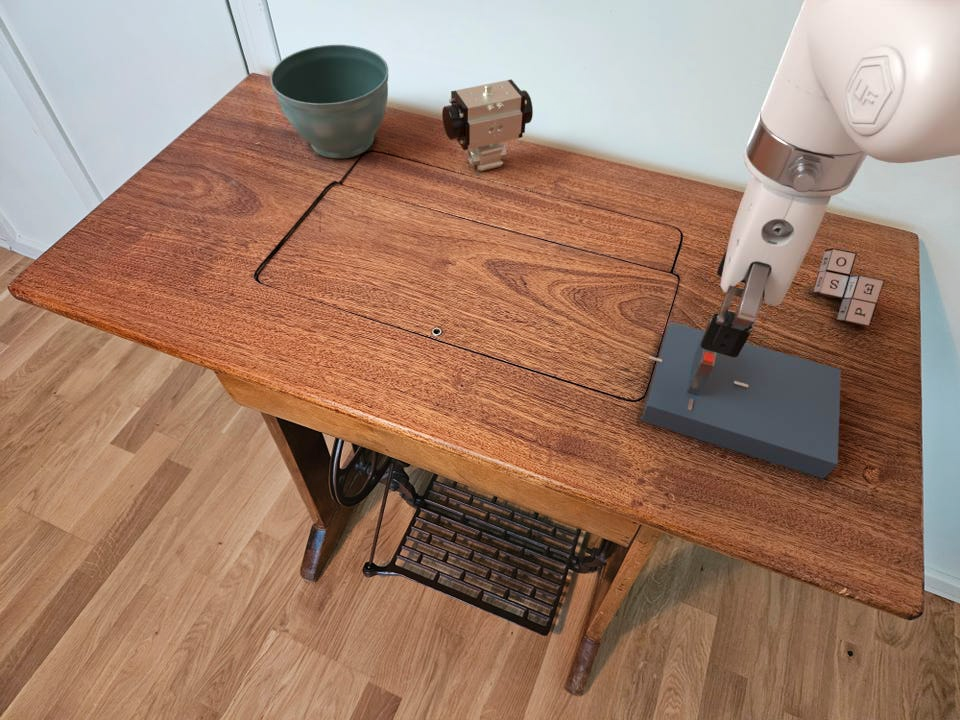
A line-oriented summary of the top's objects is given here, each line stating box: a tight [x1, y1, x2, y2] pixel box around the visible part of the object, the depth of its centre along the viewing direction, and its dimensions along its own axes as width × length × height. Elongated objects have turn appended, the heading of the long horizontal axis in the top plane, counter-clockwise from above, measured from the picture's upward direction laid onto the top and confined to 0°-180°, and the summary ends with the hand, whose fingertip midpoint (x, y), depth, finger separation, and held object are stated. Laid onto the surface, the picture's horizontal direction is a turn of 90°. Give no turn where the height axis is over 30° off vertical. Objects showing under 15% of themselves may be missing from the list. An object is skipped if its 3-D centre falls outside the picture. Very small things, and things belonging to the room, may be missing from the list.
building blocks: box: [811, 247, 885, 327], centre depth 72 cm, size 5×5×8 cm
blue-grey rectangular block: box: [640, 321, 842, 480], centre depth 64 cm, size 19×12×3 cm, turn 69°
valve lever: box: [687, 318, 716, 395], centre depth 62 cm, size 6×1×5 cm, turn 159°
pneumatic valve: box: [441, 79, 534, 172], centre depth 86 cm, size 6×12×12 cm, turn 112°
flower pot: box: [269, 44, 389, 159], centre depth 90 cm, size 16×16×11 cm
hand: (726, 312), depth 57 cm, fingers open, 9 cm apart
